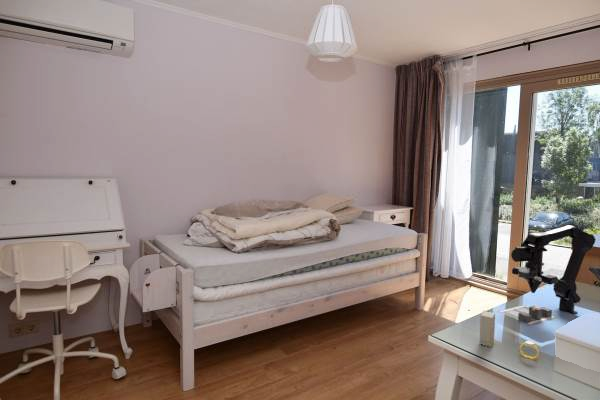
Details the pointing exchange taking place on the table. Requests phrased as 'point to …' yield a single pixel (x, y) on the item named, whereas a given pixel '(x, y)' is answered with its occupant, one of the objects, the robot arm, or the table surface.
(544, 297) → the table surface
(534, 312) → the block
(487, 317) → the skincare box
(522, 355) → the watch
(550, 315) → the panel
